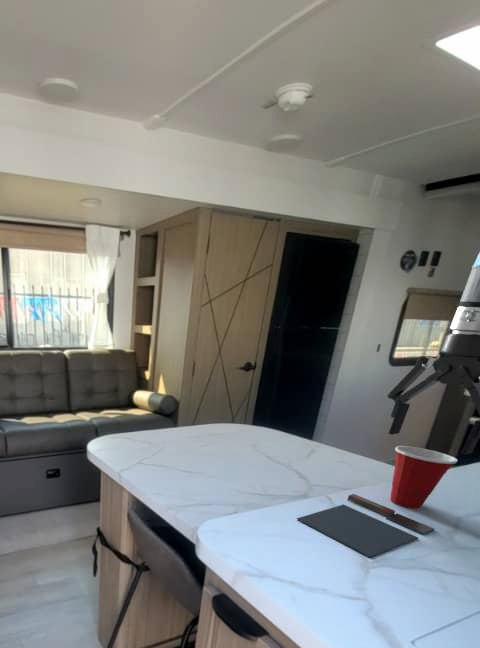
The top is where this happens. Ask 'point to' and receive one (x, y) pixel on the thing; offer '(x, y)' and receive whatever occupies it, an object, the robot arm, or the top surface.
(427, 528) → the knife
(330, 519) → the cloth mat
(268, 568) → the top surface
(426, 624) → the top surface
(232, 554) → the top surface
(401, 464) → the plastic cup
